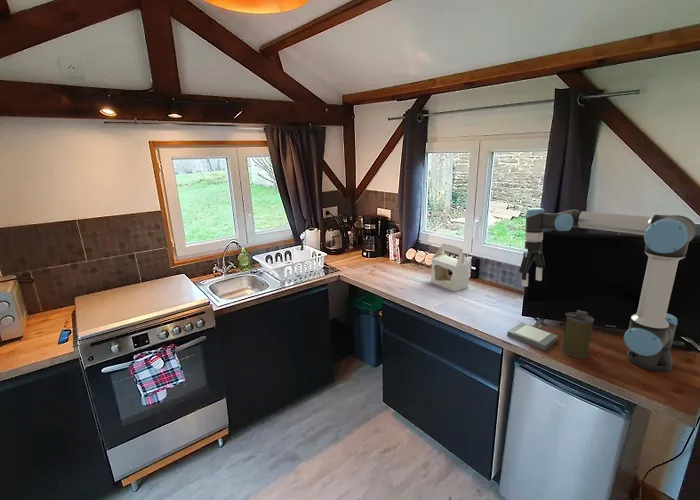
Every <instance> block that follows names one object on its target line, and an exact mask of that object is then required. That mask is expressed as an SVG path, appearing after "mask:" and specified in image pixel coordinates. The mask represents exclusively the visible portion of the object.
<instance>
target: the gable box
mask: <svg viewBox="0 0 700 500" xmlns="http://www.w3.org/2000/svg"><path fill="white" fill-rule="evenodd" d="M445 252H449V253H453V254H455V255H458V258H455V257H452V256H450V255H447V254H446V253H445ZM470 264H471V262H469V260H468V258H467V256H466V254H465V253H464V252H463V249H462V248H461V247H458V246H454V245H451V244H446V243H444V242H442V243H441V246H439V247H438V249H437V250H436V252H435V254H434V255H433V256H432V258H431V273H430V275H431V276H430V283H432V284H435V285H437V286H440V287H442V288H445V289H446V290H447V289H448V290H449V291H452V292H457V291H460V290H464V289H467V288H469V282H470V281H469V280H470V279H469V277H470V267H471V266H470ZM450 271H451V272H452V275H449V272H450Z"/></svg>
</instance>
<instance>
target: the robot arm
mask: <svg viewBox="0 0 700 500" xmlns="http://www.w3.org/2000/svg"><path fill="white" fill-rule="evenodd" d="M572 228H581V229H592V230H599V231H600V230H601V231H609V232H617V233H625V234H626V233H627V234H634V235H643V239H644V243H645V247H644V253H645V254H646V256H647V257H648V259H647V263H646V269H645V272H644V273H645V274H644V277H643V282H642V286H641V291H640V297H639V303H638V307H637V311H636V313H635V314H632V315H631V316H630V319H629V325H628V329H627V330H626V331H625V333H624V334H623V335H624V336H623V341H624V344H625V345H626V346H627V348H628V350H627V353H626V358H627V360H629V361H630V363H632V364H634V365H635V366H638V367H640V368H642V369H645V370H648V371H654V372H661V373H666V372H669V371H672V368H673V358H672V353H671V348H672V344H673V341H674V337H675V332H676V329H677V326H678V318H677V317H676V316H675V315H673V314H671V313H667V312H668V308H669V304H670V300H671V295H672V291H673V286H674V283H675V280H676V279H675V278H676V273H677V268H678V264H679V261H680V260H683V259H685V258H686V255H687V251H688V247H689V244H690V243H689V242H691V241H692V240H693V239H694V238H695V237H696V234H697V226H696V224H695V222H693V220H692V219H690V218H689V217H687V216H684V215H681V214H680V215H679V214H676V215H675V214H671V215H669V214H668V215H667V214H665V215H664V214H653V215H651V216H645V215H634V214H633V215H632V214H621V213H610V212H609V213H608V212H606V213H605V212H598V211H597V212H593V211H583V210H581V211H580V210H578V209H568V210H567V209H566V210H564V211H560V212H556V213H551V212H550V213H549V212H545V209H544V208H542V207H541V208H540V207H534V208H532V207H531V208H528V209H527V210H526V215H525V233H524V235H525V236H524V237H525V238H524V239H525V241H524V249H526V250H527V251H526V252H525V251H524V252H523V257H522V260H521V264H520V266H519V271H518V272H519V273H521V287H529V273H528V272H529V270H530V267H531V265H532V263H533V262H535V264H536V267H535V281H539V282H542V280H543V269H545V267H546V266H545V265H546V262H545V258H544V254H543V252H544V250H543V240H544V230H548V231H549V230H551V231H559V232H563V231H564V232H565V231H567V232H568V231H570V230H571V229H572Z"/></svg>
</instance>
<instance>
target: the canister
mask: <svg viewBox="0 0 700 500" xmlns="http://www.w3.org/2000/svg"><path fill="white" fill-rule="evenodd" d="M564 316H566V318H565V319H564V322H565V324H564V325H565V326H563V328H562V329H564V330H563V332H562V333H561V335H563V339H562V345H561V351H562V352H563V354H565V355H567V356H570V357H572V358H573V357H574V358H579V359H583V358H587V357H588V356H589V347H590V342H591V337H592V331H593V326H594V325H593V324H594V322H595V318H594V317H592V316H591V315H589V312H587V311H584V310H580V309H577V310H576V311H574V312H573V311H571V312H566V313H565V314H564Z"/></svg>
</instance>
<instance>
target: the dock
mask: <svg viewBox="0 0 700 500" xmlns="http://www.w3.org/2000/svg"><path fill="white" fill-rule="evenodd" d="M506 336H507V337H509V338H512V339H514V340H517V341H519V342H523V343H524V344H526V345H530V346H532V347H534V348H537V349H540V350H543V351H546V350H547V349H549V348H550V347H551V346H553V344H555V343H556V342H557V341H558V339H559V338H558V337H559V335H557V334H554V333H552V332H548V331H546V330H544V329H541V328H537V327H535V326H531V325H529V324H526V323H524V322H520V323H519V324H518V323H517V324H516V325H515V326H514V327H512V328H511V329H509V330H507V334H506Z"/></svg>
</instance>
